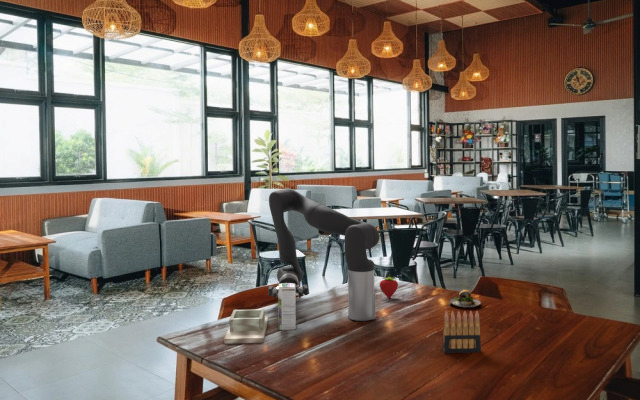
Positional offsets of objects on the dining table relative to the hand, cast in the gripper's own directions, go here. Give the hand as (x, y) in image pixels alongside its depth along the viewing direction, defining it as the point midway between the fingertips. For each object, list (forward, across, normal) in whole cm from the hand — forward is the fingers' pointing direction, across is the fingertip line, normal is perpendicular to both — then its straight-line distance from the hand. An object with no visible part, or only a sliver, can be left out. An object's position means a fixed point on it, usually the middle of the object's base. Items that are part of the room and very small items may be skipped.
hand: (287, 295), depth 184 cm
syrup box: (+9, 0, +9) cm, 13 cm away
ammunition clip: (+35, +51, +9) cm, 63 cm away
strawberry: (-25, +40, +9) cm, 48 cm away
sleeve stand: (+12, -13, +8) cm, 20 cm away
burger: (-12, +67, +9) cm, 69 cm away
